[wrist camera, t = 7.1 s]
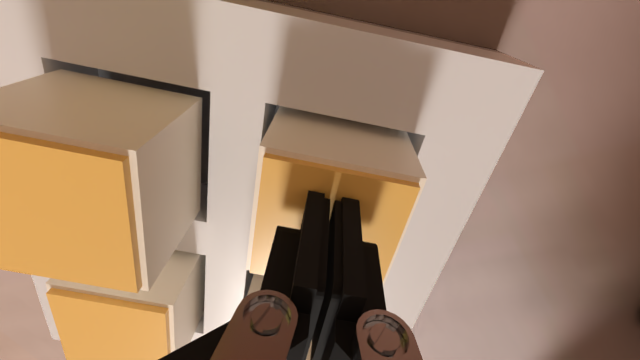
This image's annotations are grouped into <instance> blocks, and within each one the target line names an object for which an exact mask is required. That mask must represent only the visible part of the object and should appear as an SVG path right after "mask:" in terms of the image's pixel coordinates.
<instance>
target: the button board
mask: <svg viewBox="0 0 640 360" xmlns="http://www.w3.org/2000/svg"><path fill="white" fill-rule="evenodd" d="M59 69H63V70H68V71H73V72H78V73H83V74H88V75H93V76H98V77H103V78H108V79H112V80H117V81H122V82H127V83H132V84H137V85H142V86H147V87H152V88H157V89H162V90H167V91H172V92H177V93H181V94H186V95H191V96H196V97H201V98H202V143H201V204H200V211H199V213H198V214H197V216H196V218H195V219H194V221H193V222H192V224H191V225H190V227H189V229H188V230H187V232H186V233H185V235H184V237H183V238H182V240H181V241H180V243H179V244H178V246H177V248H176V249H175V250H179V251H184V252H190V253H195V254H201V255H206V266H205V301H204V312H203V314H202V316H201V319H200V321H199V323H198V326H197V328H196V331H195V333H194V335H193V338H192V340H191V342H192V341H194V340H195V339H197V338H199V337H201V336H203V335H205V334H207V333H208V332H210V331H212V330H214V329H216V328H218V327H220V326H221V325H223V324H225V323H227V322H229V321H230V320H231V318H232V316H233V314H234V312H235V310H236V309H237V307H238V305H239V304H240V302H241V301H242V300H243V298H245V297H246V296H247V294H248V291H249V288H250V285H251V281H252V278H253V275H254V274H253V273H249V272H250V271H249V270H246V262H247V253H248V244H249V235H250V225H251V216H252V207H253V198H254V189H255V180H256V171H257V162H258V153H259V145H260V143H261V141H262V139H263V138H264V136H265V134H266V132H267V130H268V128H269V126H270V124H271V122H272V120H273V118H274V116H275V114H276V112H277V111H278V109H279V107H280V106H283V107H288V108H293V109H298V110H303V111H308V112H313V113H318V114H323V115H328V116H332V117H337V118H342V119H347V120H352V121H357V122H362V123H367V124H372V125H377V126H382V127H386V128H391V129H396V130H401V131H406V132H407V134H408V136H409V138H410V141H411V143H412V145H413V148H414V150H415V152H416V154H417V157H418V159H419V161H420V164H421V166H422V168H423V171H424V173H425V175H426V177H427V180H426V183H425V185H424V188H423V190H422V193H421V195H420V198H419V200H418V202H417V205H416V207H415V210H414V212H413V215H412V217H411V220H410V222H409V225H408V227H407V230H406V232H405V235H404V237H403V239H402V242H401V244H400V247H399V249H398V252H397V254H396V257H395V259H394V262H393V264H392V267H391V269H390V271H389V274H388V276H387V279H386V281H385V284H384V286H383V289H384V296H385V303H386V311H389V312H391V313H393V314H396V315H397V316H398V317H400V318H401V319H402V320H404V321H405V323H406V324H407V325H408V326H409V327H410V329H411V330H412V328H413V326H414V324H415V322H416V320H417V318H418V316H419V314H420V312H421V310H422V308H423V306H424V305H425V303H426V301H427V299H428V297H429V295H430V293H431V291H432V289H433V287H434V285H435V283H436V281H437V279H438V277H439V275H440V273H441V271H442V269H443V267H444V265H445V264H446V262H447V260H448V258H449V256H450V254H451V252H452V250H453V248H454V246H455V244H456V242H457V240H458V238H459V236H460V234H461V232H462V230H463V228H464V226H465V224H466V223H467V221H468V219H469V217H470V215H471V213H472V211H473V209H474V207H475V205H476V203H477V201H478V199H479V197H480V195H481V193H482V191H483V189H484V187H485V185H486V183H487V181H488V180H489V178H490V176H491V174H492V172H493V170H494V168H495V166H496V164H497V162H498V160H499V158H500V156H501V154H502V152H503V150H504V148H505V146H506V144H507V142H508V140H509V139H510V137H511V135H512V133H513V131H514V129H515V127H516V125H517V123H518V121H519V119H520V117H521V115H522V113H523V111H524V109H525V107H526V105H527V103H528V101H529V99H530V98H531V96H532V94H533V92H534V90H535V88H536V86H537V84H538V82H539V80H540V78H541V76H542V74H543V72H544V70H542V69H539V68H537V67H535V66H532V65H530V64H528V63H525V62H523V61H521V60H518V59H516V58H514V57H511V56H509V55H507V54H504V53H502V52H499V51H497V50H493V49H488V48H484V47H479V46H474V45H470V44H465V43H461V42H456V41H451V40H447V39H442V38H438V37H433V36H428V35H424V34H419V33H415V32H410V31H405V30H401V29H396V28H392V27H387V26H383V25H378V24H373V23H369V22H364V21H360V20H355V19H350V18H346V17H341V16H337V15H332V14H327V13H323V12H318V11H314V10H309V9H304V8H300V7H295V6H291V5H286V4H281V3H277V2H272V1H268V0H0V87H2V86H6V85H9V84H12V83H16V82H19V81H22V80H26V79H29V78H32V77H36V76H39V75H42V74H46V73H49V72H52V71H56V70H59ZM31 276H32V279H33V282H34V285H35V288H36V291H37V294H38V297H39V300H40V303H41V306H42V309H43V312H44V315H45V318H46V322H47V325H48V328H49V331H50V334H51V337H52V339H54V340H60V337H59V334H58V331H57V328H56V325H55V321H54V318H53V315H52V312H51V309H50V305H49V302H48V299H47V296H46V293H47V292H48V291H47V287H46V284H45V283H46V282H47V281H48V280H49V279H50V278H47V277H41V276H36V275H31Z"/></svg>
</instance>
